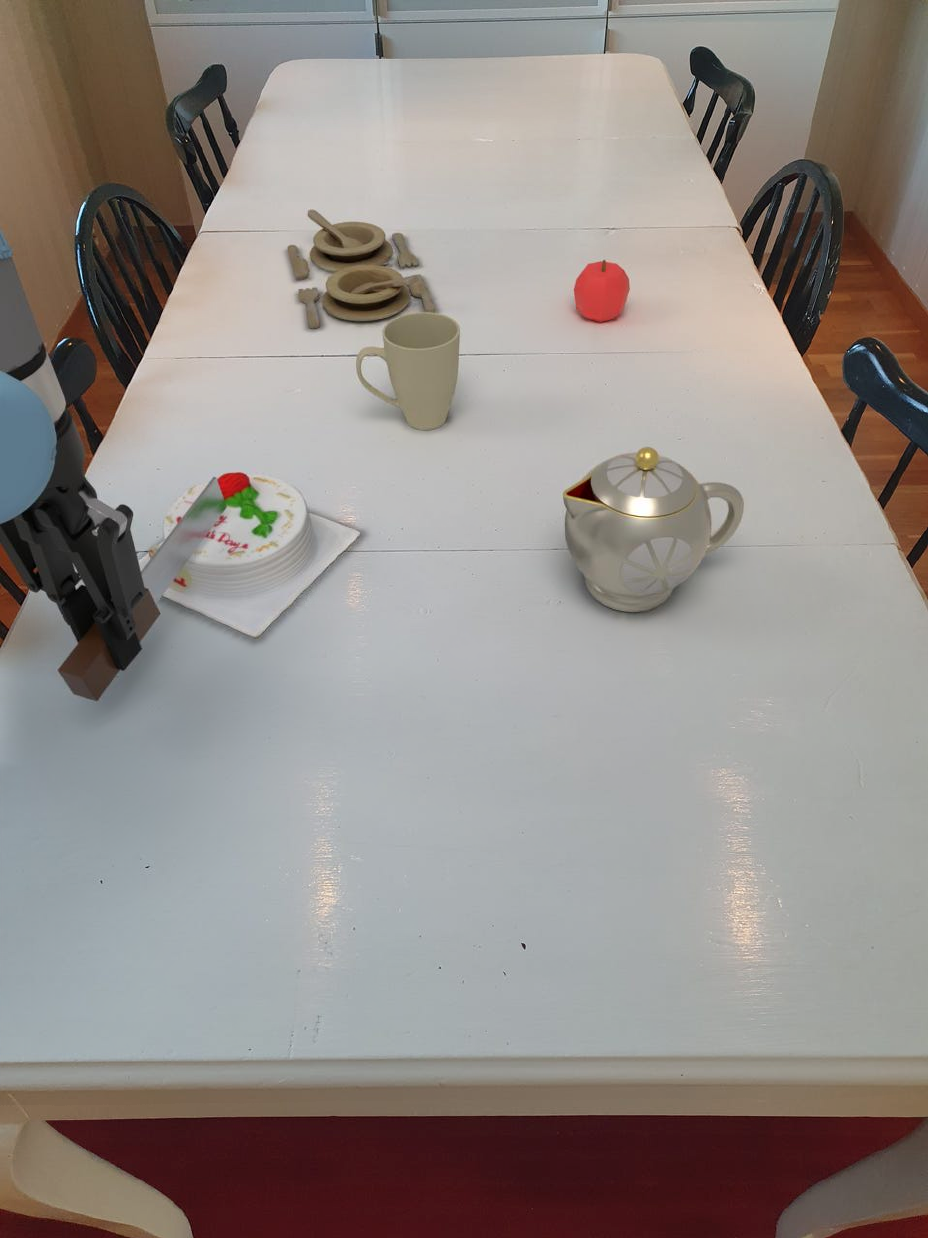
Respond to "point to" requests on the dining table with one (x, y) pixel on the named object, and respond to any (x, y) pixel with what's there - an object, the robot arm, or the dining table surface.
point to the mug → (419, 366)
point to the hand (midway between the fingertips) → (114, 654)
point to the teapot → (643, 527)
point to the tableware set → (357, 272)
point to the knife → (91, 658)
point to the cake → (253, 552)
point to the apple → (601, 291)
